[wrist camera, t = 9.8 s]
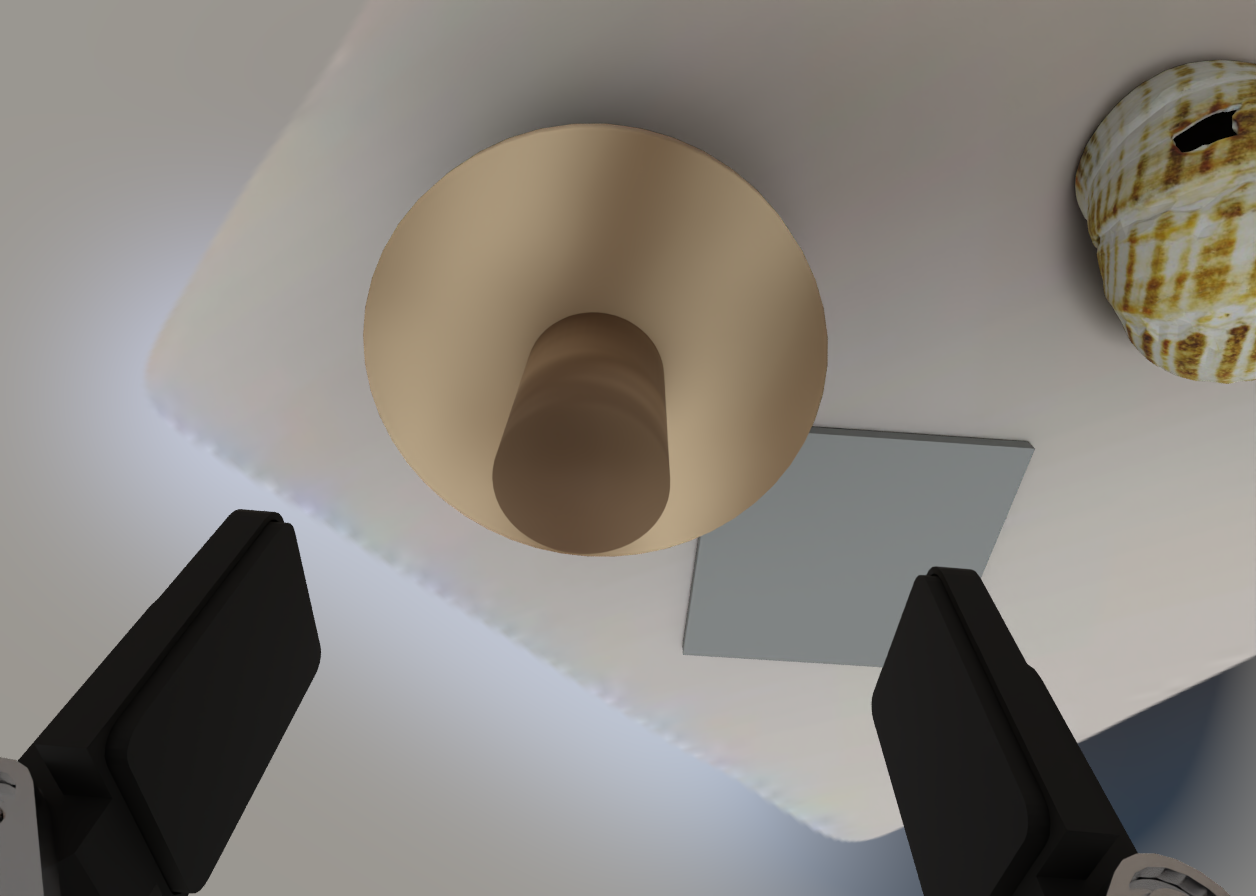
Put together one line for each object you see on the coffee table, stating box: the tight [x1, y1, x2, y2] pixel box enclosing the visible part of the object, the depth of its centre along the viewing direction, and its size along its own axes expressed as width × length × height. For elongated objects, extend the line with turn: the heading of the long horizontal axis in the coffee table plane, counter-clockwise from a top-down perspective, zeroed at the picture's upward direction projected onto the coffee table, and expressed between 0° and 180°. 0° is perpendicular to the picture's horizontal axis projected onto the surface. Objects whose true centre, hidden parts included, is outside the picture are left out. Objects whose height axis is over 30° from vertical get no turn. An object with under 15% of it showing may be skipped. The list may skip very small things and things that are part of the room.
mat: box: [682, 427, 1035, 667], centre depth 35 cm, size 14×14×1 cm
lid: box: [363, 124, 828, 556], centre depth 17 cm, size 12×12×6 cm
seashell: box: [1075, 60, 1256, 384], centre depth 24 cm, size 10×10×10 cm
